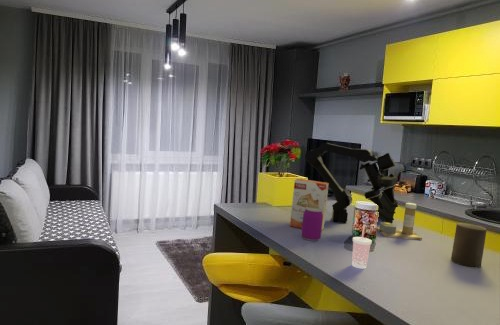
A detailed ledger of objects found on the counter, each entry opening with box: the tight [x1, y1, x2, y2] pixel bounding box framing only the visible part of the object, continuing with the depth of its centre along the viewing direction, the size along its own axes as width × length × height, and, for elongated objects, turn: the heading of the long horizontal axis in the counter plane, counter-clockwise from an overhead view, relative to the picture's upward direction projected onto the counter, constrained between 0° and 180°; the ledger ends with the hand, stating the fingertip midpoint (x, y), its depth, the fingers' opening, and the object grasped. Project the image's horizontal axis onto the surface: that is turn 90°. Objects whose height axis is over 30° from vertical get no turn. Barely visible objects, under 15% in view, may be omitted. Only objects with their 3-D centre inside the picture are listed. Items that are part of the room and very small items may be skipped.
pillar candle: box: [450, 222, 488, 268], centre depth 144 cm, size 10×10×15 cm
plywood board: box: [376, 226, 423, 241], centre depth 177 cm, size 16×12×1 cm
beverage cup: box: [351, 224, 373, 269], centre depth 130 cm, size 6×6×14 cm
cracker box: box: [289, 178, 329, 231], centre depth 173 cm, size 14×6×21 cm, turn 68°
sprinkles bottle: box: [402, 202, 418, 234], centre depth 176 cm, size 5×5×14 cm
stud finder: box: [379, 221, 397, 234], centre depth 177 cm, size 5×7×3 cm
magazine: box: [377, 191, 399, 224], centre depth 202 cm, size 4×13×15 cm, turn 11°
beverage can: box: [301, 207, 323, 242], centre depth 158 cm, size 8×8×12 cm
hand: (388, 206), depth 182 cm, fingers open, 9 cm apart
